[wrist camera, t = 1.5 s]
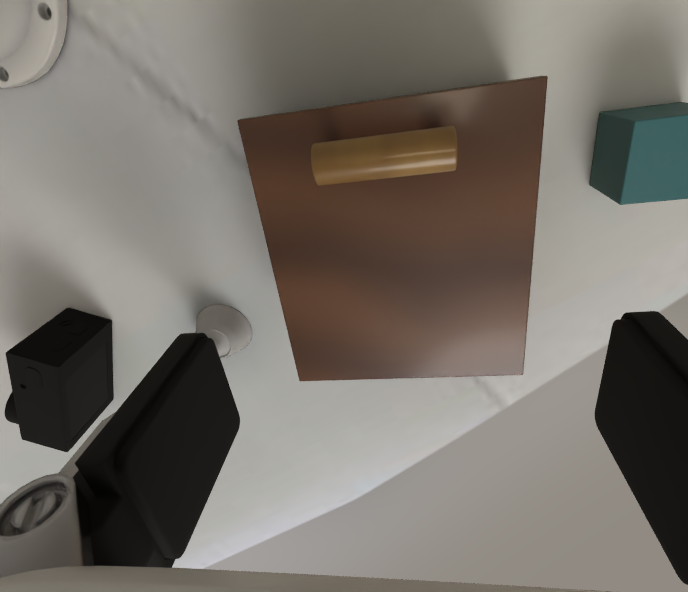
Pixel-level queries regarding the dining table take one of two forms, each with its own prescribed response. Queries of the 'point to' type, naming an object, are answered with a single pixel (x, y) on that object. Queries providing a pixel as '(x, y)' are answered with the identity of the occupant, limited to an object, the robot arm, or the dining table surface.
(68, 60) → the dining table surface
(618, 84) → the dining table surface
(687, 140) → the block
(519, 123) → the box lid
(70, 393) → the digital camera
